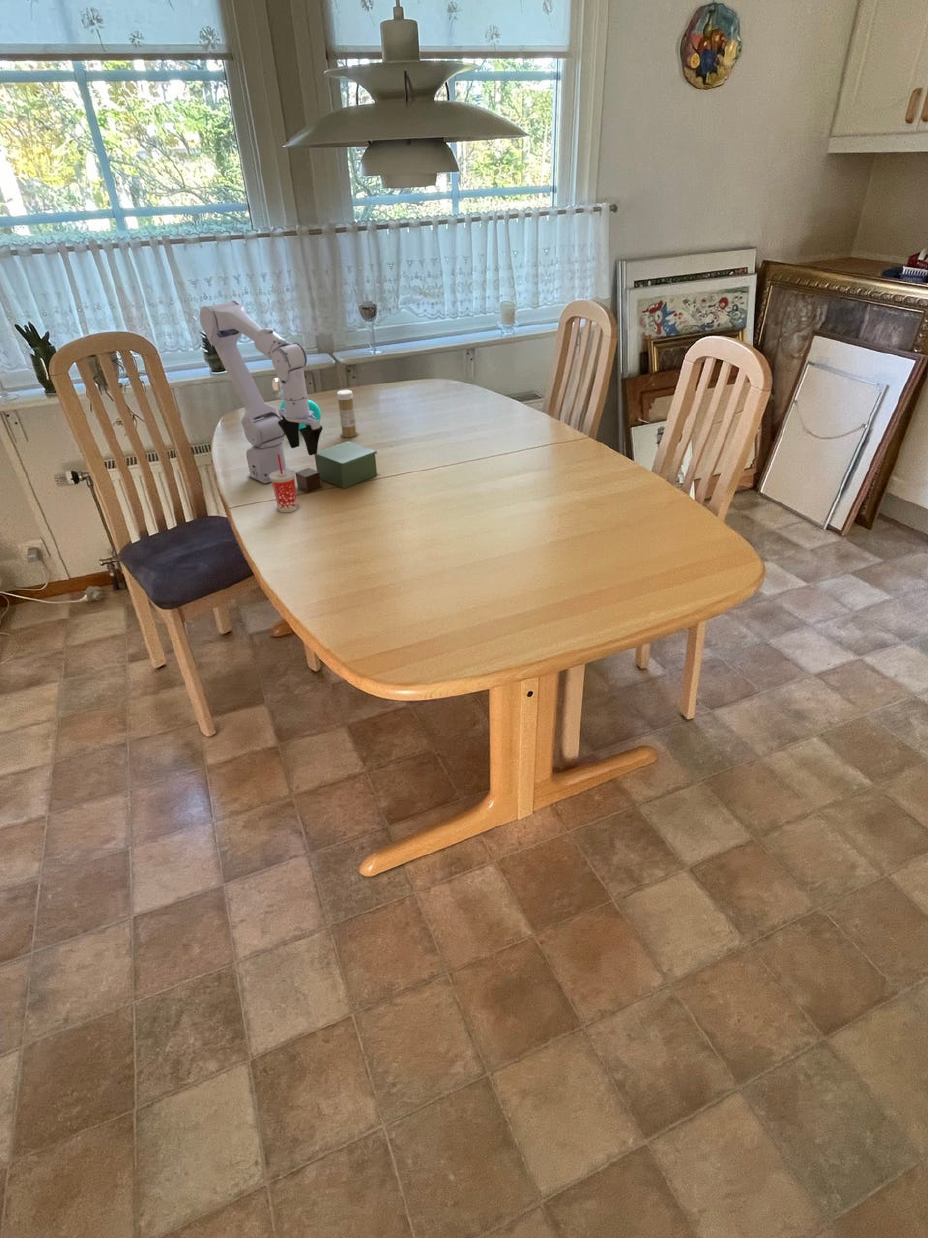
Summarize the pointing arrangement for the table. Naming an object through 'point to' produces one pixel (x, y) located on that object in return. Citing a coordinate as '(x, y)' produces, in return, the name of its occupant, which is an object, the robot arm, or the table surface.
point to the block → (308, 480)
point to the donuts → (312, 407)
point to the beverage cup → (284, 488)
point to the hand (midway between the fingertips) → (304, 450)
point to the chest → (346, 471)
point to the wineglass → (277, 388)
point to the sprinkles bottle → (347, 413)
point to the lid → (345, 453)
